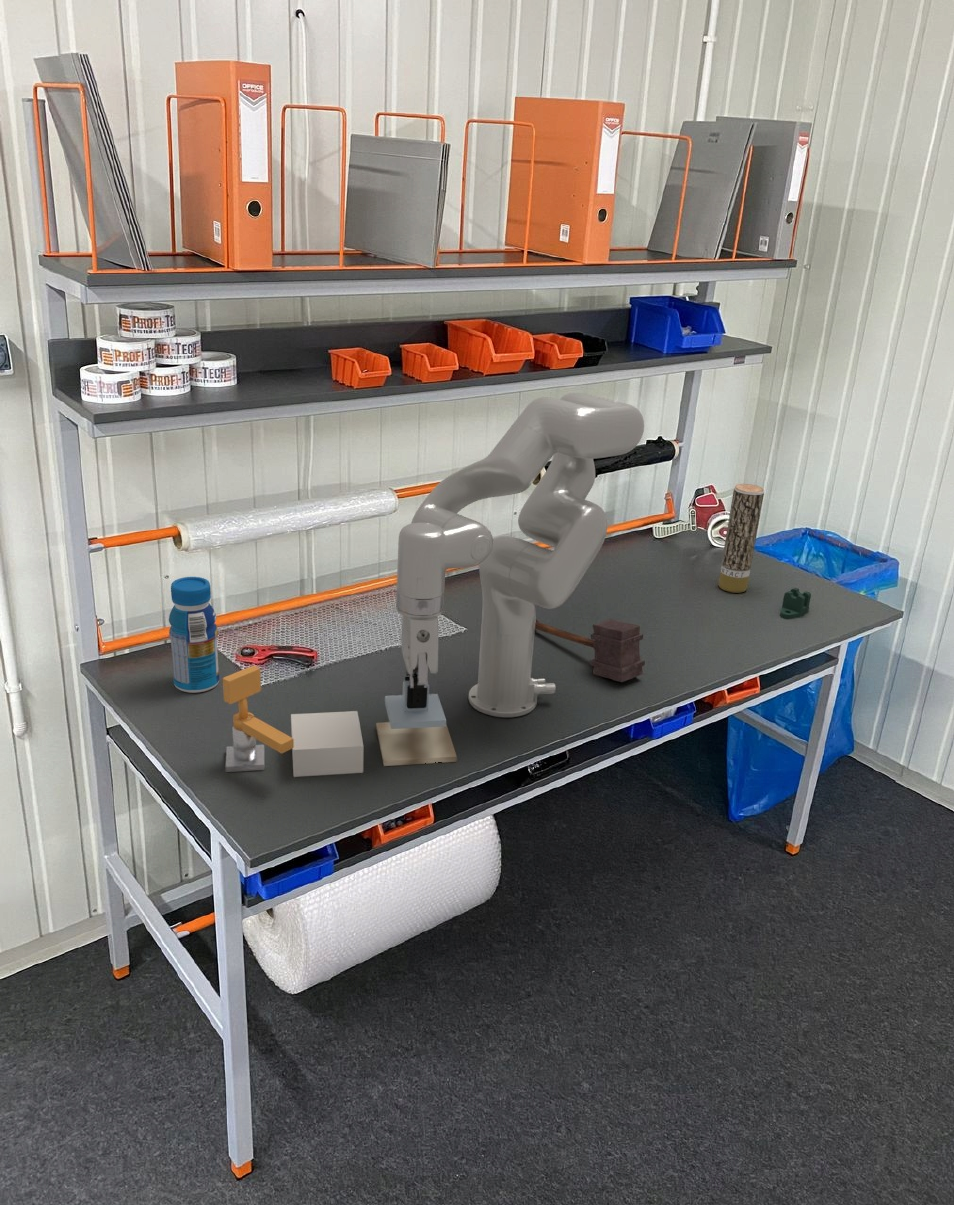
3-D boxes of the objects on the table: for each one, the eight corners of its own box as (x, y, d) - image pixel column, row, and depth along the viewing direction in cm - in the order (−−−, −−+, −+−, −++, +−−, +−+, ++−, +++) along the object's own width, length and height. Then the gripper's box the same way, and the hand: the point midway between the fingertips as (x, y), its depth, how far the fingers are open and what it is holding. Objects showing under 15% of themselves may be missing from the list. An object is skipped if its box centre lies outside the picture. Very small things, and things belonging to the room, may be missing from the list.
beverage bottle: (164, 690, 184) (156, 588, 175) (186, 669, 191) (180, 571, 183) (207, 697, 182) (201, 595, 174) (228, 676, 190) (223, 577, 181)
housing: (357, 736, 173) (357, 711, 171) (363, 772, 163) (363, 745, 161) (291, 740, 171) (290, 714, 169) (293, 776, 161) (293, 749, 159)
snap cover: (437, 699, 174) (438, 670, 172) (445, 726, 166) (447, 695, 164) (384, 701, 172) (385, 672, 170) (391, 729, 164) (392, 697, 162)
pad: (444, 724, 178) (444, 719, 178) (456, 761, 167) (456, 756, 167) (376, 727, 176) (376, 722, 175) (383, 765, 165) (383, 760, 165)
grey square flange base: (264, 749, 168) (263, 715, 165) (264, 769, 162) (263, 734, 160) (226, 751, 166) (225, 717, 164) (225, 772, 161) (223, 736, 158)
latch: (302, 743, 158) (301, 690, 154) (272, 758, 154) (270, 704, 150) (252, 715, 165) (250, 663, 161) (222, 728, 160) (219, 676, 157)
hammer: (622, 683, 193) (620, 633, 190) (508, 650, 217) (505, 605, 215) (646, 674, 197) (644, 624, 194) (531, 642, 221) (529, 598, 219)
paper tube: (724, 580, 247) (741, 481, 237) (751, 588, 244) (769, 488, 234) (713, 588, 242) (729, 488, 232) (740, 596, 239) (757, 494, 228)
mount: (792, 622, 227) (796, 601, 225) (774, 615, 230) (777, 595, 228) (814, 608, 235) (818, 589, 233) (796, 602, 237) (800, 583, 235)
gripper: (452, 621, 154) (445, 726, 162) (435, 581, 169) (430, 679, 176) (402, 622, 153) (398, 728, 160) (390, 581, 167) (387, 680, 174)
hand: (415, 701), depth 168 cm, fingers closed on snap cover
